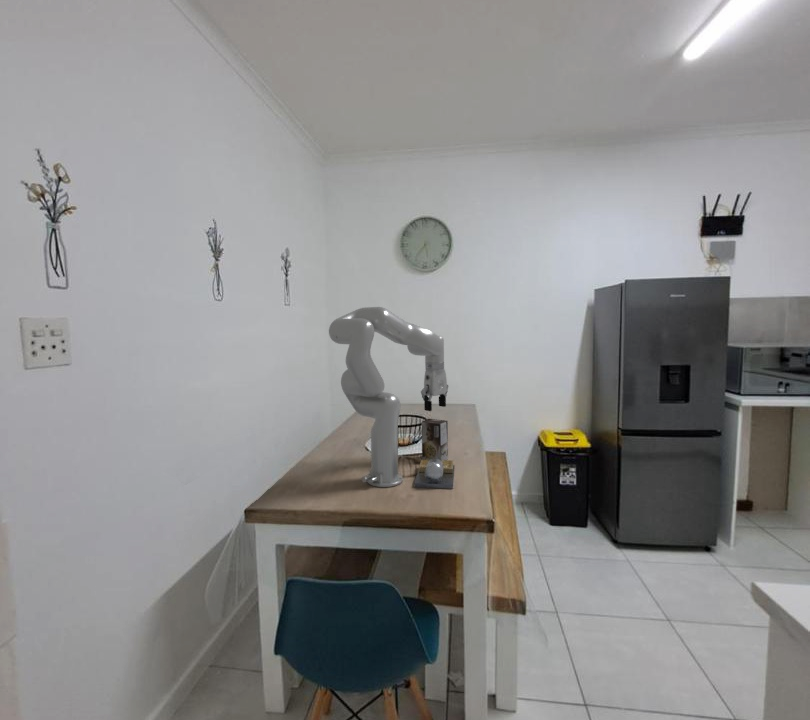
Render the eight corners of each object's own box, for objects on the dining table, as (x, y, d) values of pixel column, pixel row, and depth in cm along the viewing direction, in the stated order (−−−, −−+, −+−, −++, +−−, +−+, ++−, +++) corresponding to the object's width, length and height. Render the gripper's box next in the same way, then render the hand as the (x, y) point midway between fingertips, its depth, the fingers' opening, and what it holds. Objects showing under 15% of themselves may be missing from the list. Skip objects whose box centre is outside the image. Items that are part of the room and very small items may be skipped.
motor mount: (452, 488, 142) (452, 467, 142) (414, 487, 144) (414, 465, 143) (454, 468, 162) (454, 449, 161) (420, 467, 164) (420, 448, 163)
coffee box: (448, 459, 173) (448, 420, 172) (440, 463, 168) (440, 423, 166) (429, 455, 178) (429, 417, 177) (421, 459, 173) (421, 421, 171)
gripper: (429, 369, 161) (430, 413, 162) (454, 364, 174) (455, 405, 176) (413, 368, 165) (414, 411, 167) (439, 363, 179) (440, 403, 180)
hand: (435, 408), depth 171 cm, fingers open, 9 cm apart
